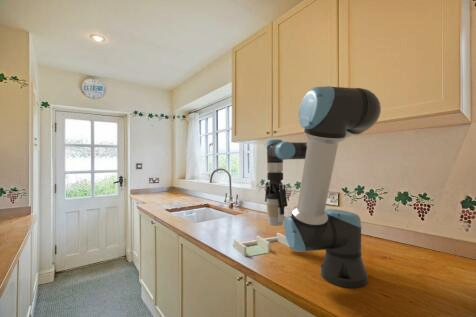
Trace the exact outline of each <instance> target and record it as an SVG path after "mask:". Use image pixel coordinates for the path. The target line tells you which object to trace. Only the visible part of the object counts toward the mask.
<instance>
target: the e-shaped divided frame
mask: <svg viewBox="0 0 476 317" xmlns="http://www.w3.org/2000/svg"><path fill="white" fill-rule="evenodd" d="M255 237H256V238H255V239H253V240H247V241H242V242H240V241H239V240H238V239H235V238H234V239H233V243H232V247H233V248H234V249H235V250H236V251H237V252H238V253H240V254H241V255H242V256H243V257H247V256H246V247H249V246H252V245H253V246H255V245H256V246H257V245H259V246H260V247H262V248H263V249H265V250H266V251H268V252H269V253H270V252H271V242H279V243H280V244H283V245H284V246H286V247H287V248H290V249H291V247H290V246H289V244H288V242H287V239H286V236H285V234H283V233H280V232H276V236H272V237H267V238H266V237H265V238H263V237H261V236H260V235H256V236H255Z"/></svg>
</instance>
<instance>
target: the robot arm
mask: <svg viewBox="0 0 476 317" xmlns="http://www.w3.org/2000/svg"><path fill="white" fill-rule="evenodd" d="M381 110H382V108H381V102H380V100H379V99H378V96H377V95H376V94H375V93H373V92H372V90H371V91H370V90H368V89H367V88H362V87H356V88H355V87H342V86H331V85H327V86H315V87H312V88H310V89H309V90H308V91H307V92H306V94H305V95H304V97H303V98H302V100H301V102H300V106H299V111H298V118H299V119H298V122H299V124H300V126H301V127H302V128H303V129H304V131H303V133H304V135H305V136H306V137H307V141H306V142H303V141H302V142H301V141H300V142H296V141H295V142H291V141H283V140H282V139H278V138H277V139H269V140H267V142H266V160H267V161H266V163H267V164H266V167H267V168H266V170H267V174H266V175H267V176H266V179H267V180H268V181H269V182H265V186H266V187H265V197H264V202H266V203H267V199H266V197H267V195H268V194H269V193H271V194H272V193H275V194H277V197H278V204H279V206H278V221H279V222H281V221H283V230H284V231H283V232H284V236H286V239H287V242H288V244H289V246H290V247H291V248H290V249H291V250H292V251H294V252H297V253H299V252H300V253H301V252H303V253H306V252H313V251H325V254H324V257H323V259H322V260H323V261H322V263H321V266H320V276H321V277H322V278H323V279H324V280H325V281H327V282H328V283H330V284H333V285H336V286H340V287H344V288H350V289H352V288H353V289H355V288H356V289H357V288H362V287H364V286H366V285H367V284H368V282H369V279H368V273H367V271H366V267H365V264H364V261H363V257H362V228H363V227H362V222H361V217H360V215H358V214H356V213H354V212H350V211H346V210H341V209H333V208H328V209H326V207H327V200H328V196H329V190H330V185H331V181H332V177H333V171H334V165H335V161H336V157H337V151H338V146H339V143H340V142H342V141H345V140H346V139H348V138H349V137H351V136H353V135H361V134H362V133H364V132H366V131H367V130H369V129H371V127H373V126H374V125H375V124H376V123H377V121H379V117H380V116H381V115H380V114H381ZM284 160H287V161H288V160H304V162H303V164H304V166H303V170H302V171H303V172H302V177H301V183H300V189H299V197H298V202H297V205H296V206H294V207H293V208H292V211H291V216H290V215H288V216H286V217H285V207H288V200H287V193H286V192H287V191H286V184H283V183H282V181H283V180H284V172H283V171H284V164H283V163H284Z"/></svg>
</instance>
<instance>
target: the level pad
mask: <svg viewBox="0 0 476 317" xmlns="http://www.w3.org/2000/svg"><path fill="white" fill-rule="evenodd" d="M269 253H270V252H268V251H266V250H265V249H263V248H262V247H260V246H259V245H257V244H256V245H253V246H252V245H250V246H246V256H245V257H253V256H258V255H265V254H269Z"/></svg>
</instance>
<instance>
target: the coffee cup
mask: <svg viewBox="0 0 476 317" xmlns="http://www.w3.org/2000/svg"><path fill="white" fill-rule="evenodd" d="M266 199H267V202H266V214H267V220H268V225H270V226H273V227H278V226H284V221H281V222H279V221H278V206H279V204H278V197H277V194H275V193H272V194H271V193H269V194H268V195H267V197H266Z"/></svg>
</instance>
